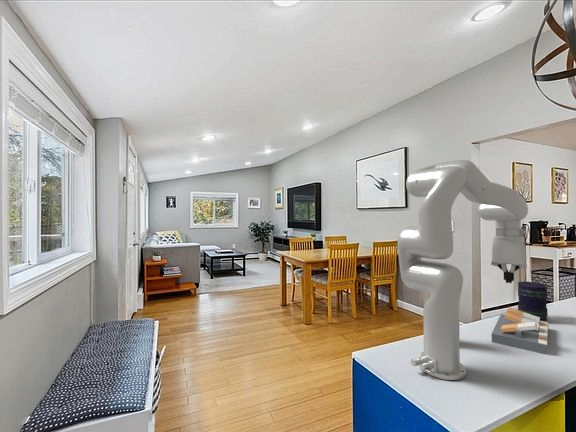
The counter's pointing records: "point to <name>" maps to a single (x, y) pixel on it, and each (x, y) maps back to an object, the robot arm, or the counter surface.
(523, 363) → the counter surface
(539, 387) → the counter surface
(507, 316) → the switch
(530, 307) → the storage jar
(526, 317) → the switch
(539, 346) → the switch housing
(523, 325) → the switch
